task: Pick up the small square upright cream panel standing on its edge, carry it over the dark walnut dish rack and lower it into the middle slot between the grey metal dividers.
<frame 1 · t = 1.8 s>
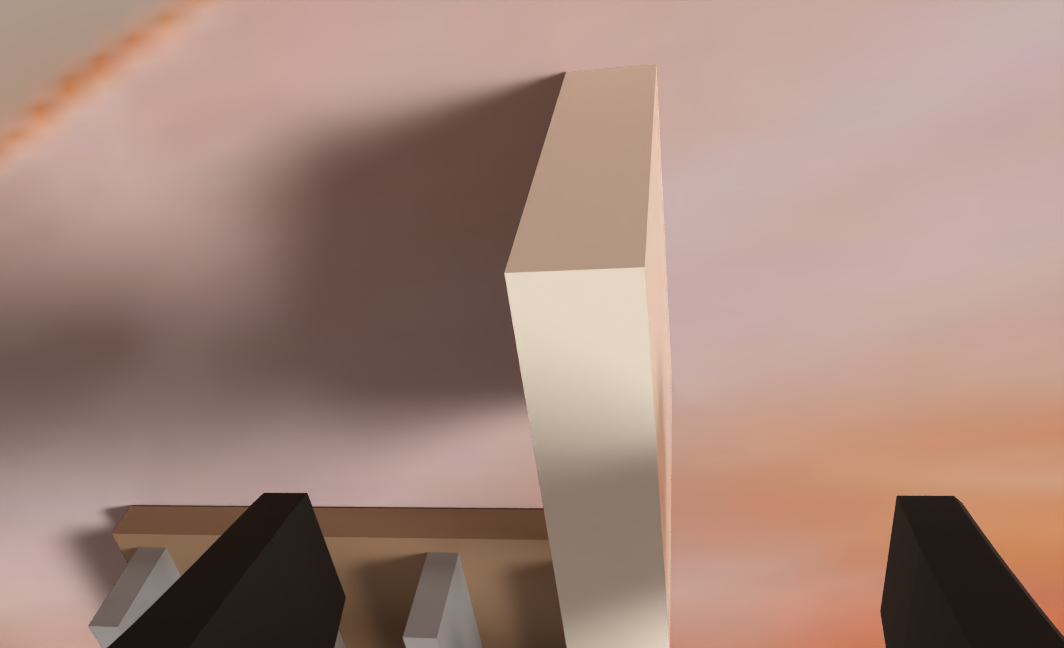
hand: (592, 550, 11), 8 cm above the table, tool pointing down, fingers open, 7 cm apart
upright cream panel: (624, 240, 18), on the table
dish rack: (408, 619, 25), on the table
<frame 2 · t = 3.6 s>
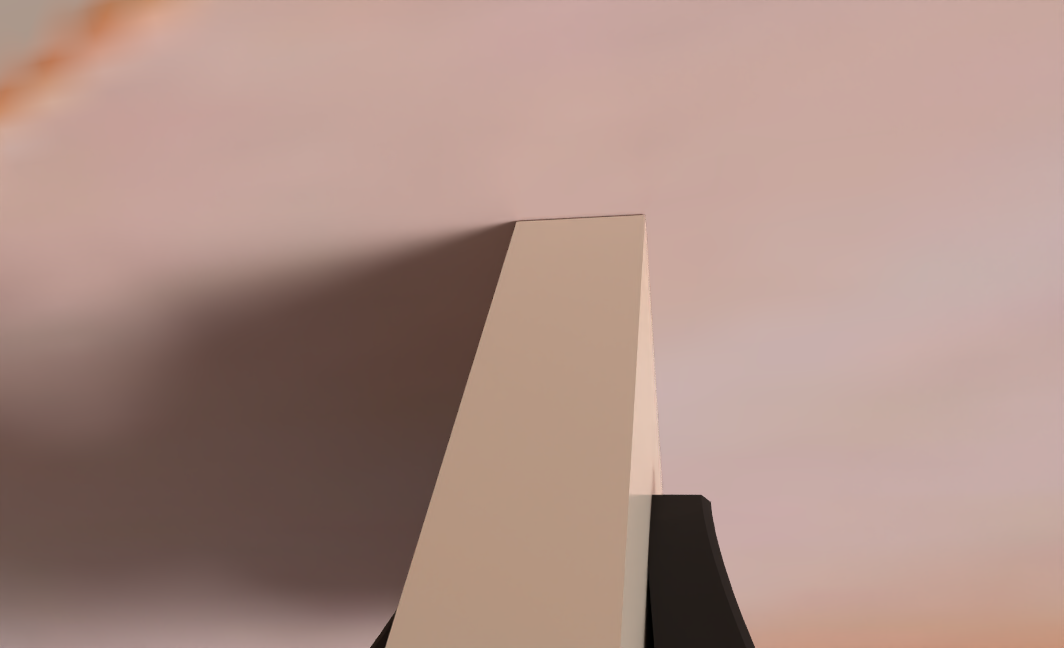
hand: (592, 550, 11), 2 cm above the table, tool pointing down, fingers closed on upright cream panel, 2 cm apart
upright cream panel: (603, 432, 13), on the table, touching gripper
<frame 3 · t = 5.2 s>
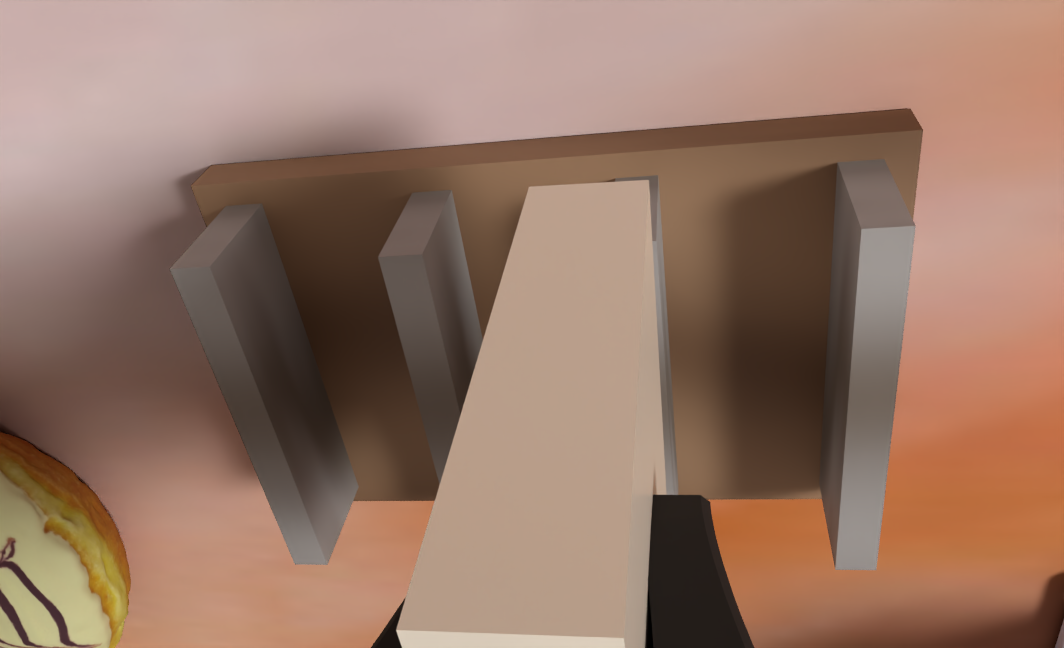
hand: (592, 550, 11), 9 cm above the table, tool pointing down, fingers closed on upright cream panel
upright cream panel: (608, 388, 14), point 6 cm above the table, touching gripper
dish rack: (562, 325, 20), on the table
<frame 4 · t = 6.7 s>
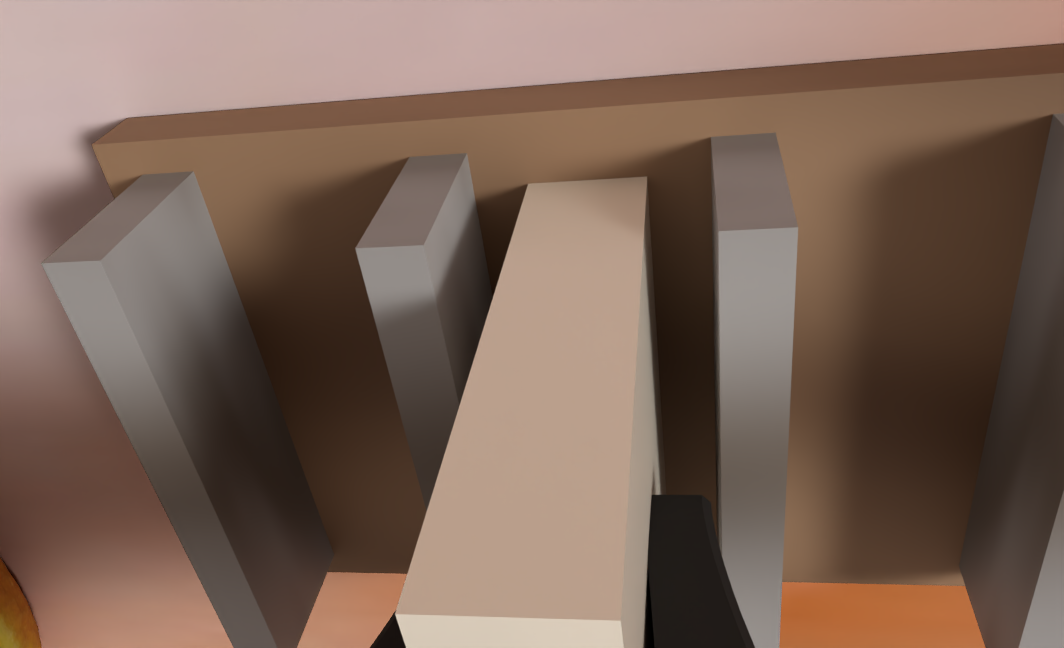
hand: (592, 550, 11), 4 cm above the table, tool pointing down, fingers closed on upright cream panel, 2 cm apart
upright cream panel: (607, 385, 14), point 1 cm above the table, touching dish rack, gripper
dish rack: (613, 348, 15), on the table
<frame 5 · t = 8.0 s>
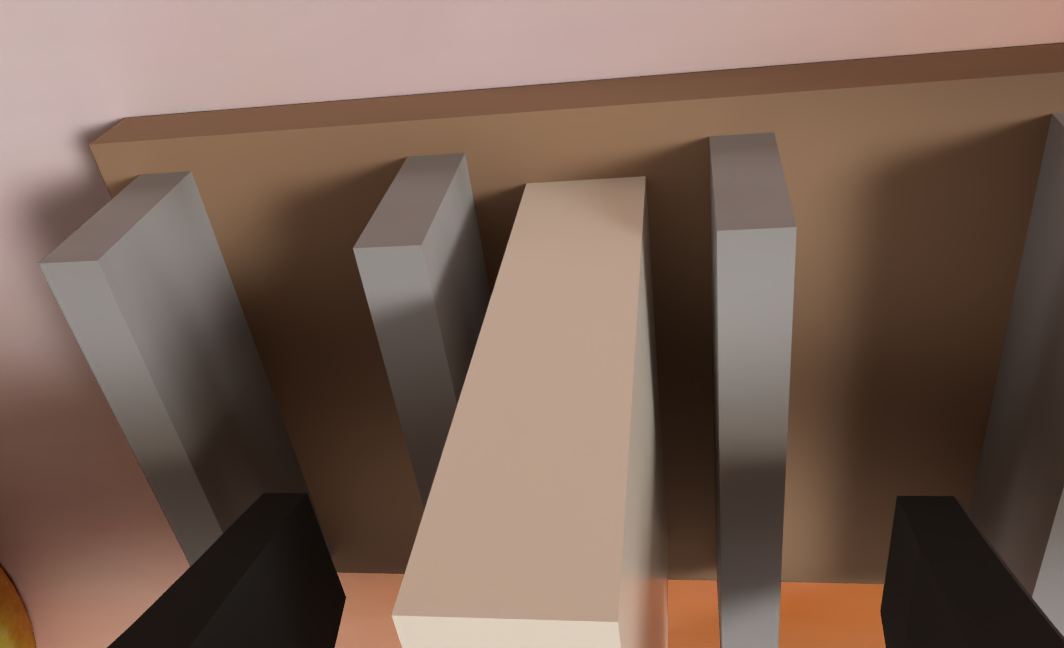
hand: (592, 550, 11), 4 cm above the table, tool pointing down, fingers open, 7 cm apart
upright cream panel: (606, 385, 14), point 1 cm above the table, touching dish rack
dish rack: (611, 347, 15), on the table
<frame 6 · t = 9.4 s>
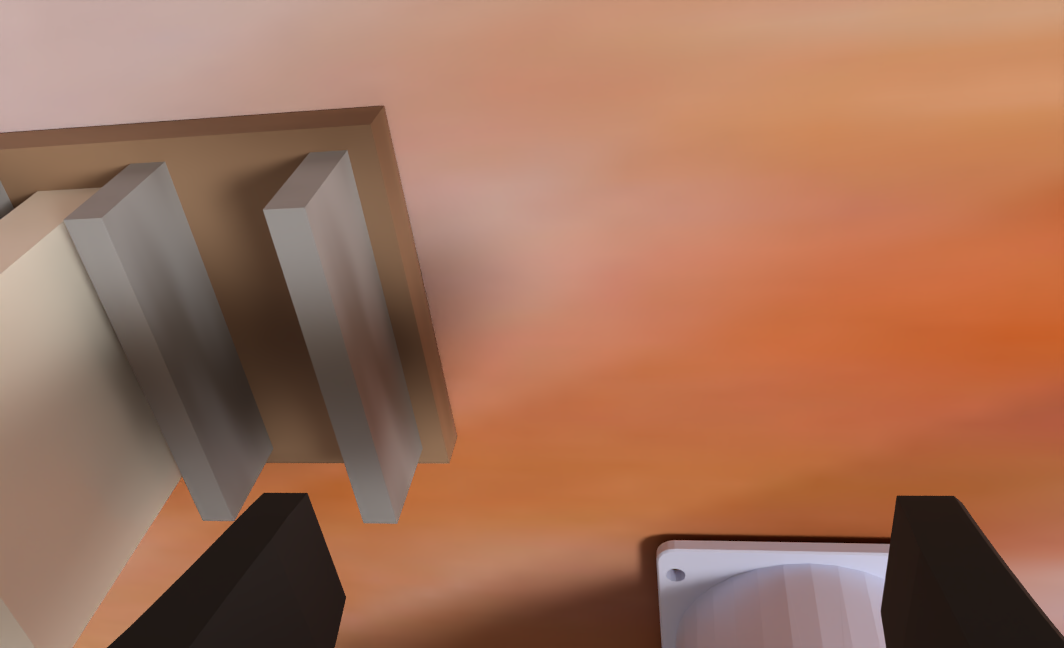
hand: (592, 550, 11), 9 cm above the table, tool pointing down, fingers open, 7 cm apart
upright cream panel: (130, 323, 21), point 1 cm above the table, touching dish rack
dish rack: (152, 300, 22), on the table
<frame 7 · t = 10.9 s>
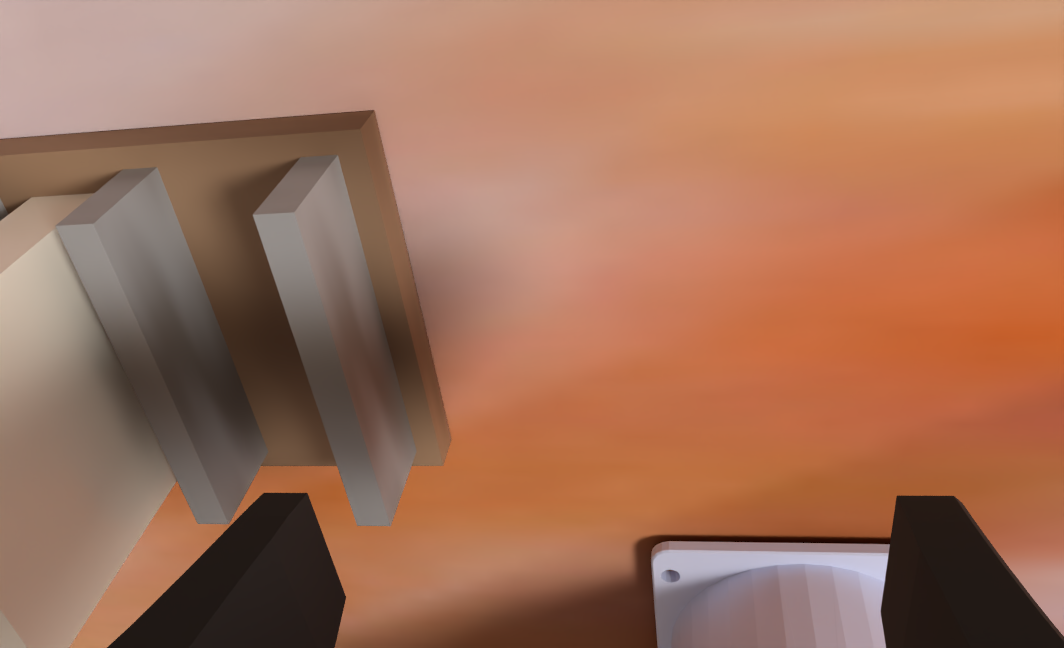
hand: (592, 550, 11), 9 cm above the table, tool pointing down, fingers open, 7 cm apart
upright cream panel: (125, 327, 21), point 1 cm above the table, touching dish rack
dish rack: (146, 304, 22), on the table
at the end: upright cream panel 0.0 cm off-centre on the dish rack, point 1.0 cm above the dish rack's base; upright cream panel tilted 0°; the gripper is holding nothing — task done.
